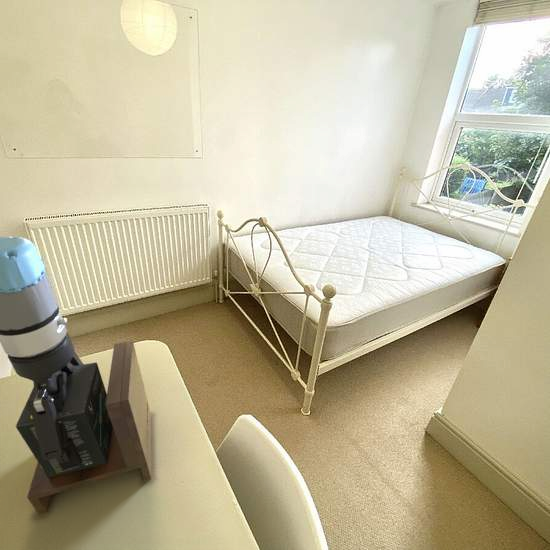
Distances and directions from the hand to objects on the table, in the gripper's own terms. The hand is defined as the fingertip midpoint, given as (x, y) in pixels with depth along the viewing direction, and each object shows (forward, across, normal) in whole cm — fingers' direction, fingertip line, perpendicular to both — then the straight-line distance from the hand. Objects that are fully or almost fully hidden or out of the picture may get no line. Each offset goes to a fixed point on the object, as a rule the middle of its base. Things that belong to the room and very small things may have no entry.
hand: (79, 434), depth 56 cm
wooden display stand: (+9, 0, -2) cm, 9 cm away
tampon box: (+3, 0, 0) cm, 3 cm away
